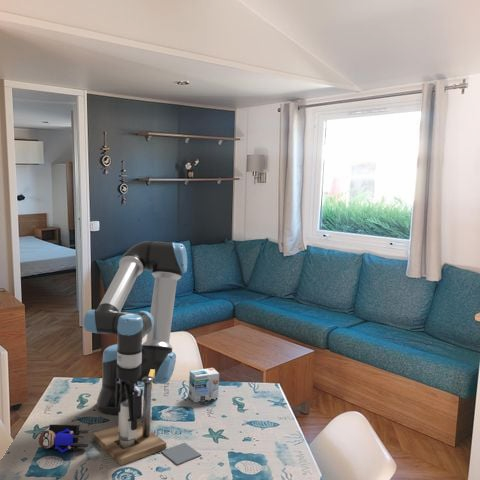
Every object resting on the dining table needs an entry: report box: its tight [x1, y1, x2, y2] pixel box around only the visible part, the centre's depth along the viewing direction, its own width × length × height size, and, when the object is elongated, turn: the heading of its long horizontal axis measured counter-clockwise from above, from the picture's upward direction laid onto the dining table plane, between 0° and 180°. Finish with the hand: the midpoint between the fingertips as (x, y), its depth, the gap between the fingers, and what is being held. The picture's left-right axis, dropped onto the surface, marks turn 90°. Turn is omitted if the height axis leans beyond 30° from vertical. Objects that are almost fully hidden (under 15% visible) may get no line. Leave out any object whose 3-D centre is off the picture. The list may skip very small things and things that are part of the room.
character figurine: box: [38, 424, 90, 454], centre depth 153 cm, size 8×7×15 cm
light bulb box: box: [188, 367, 220, 403], centre depth 196 cm, size 11×7×11 cm, turn 118°
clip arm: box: [149, 369, 155, 390], centre depth 167 cm, size 2×13×3 cm, turn 4°
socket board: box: [92, 420, 167, 466], centre depth 158 cm, size 19×16×2 cm
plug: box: [119, 399, 135, 449], centre depth 155 cm, size 5×5×15 cm
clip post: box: [141, 376, 154, 438], centre depth 159 cm, size 4×4×20 cm
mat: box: [160, 442, 202, 466], centre depth 154 cm, size 9×9×1 cm
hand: (127, 434), depth 156 cm, fingers closed on plug, 5 cm apart
